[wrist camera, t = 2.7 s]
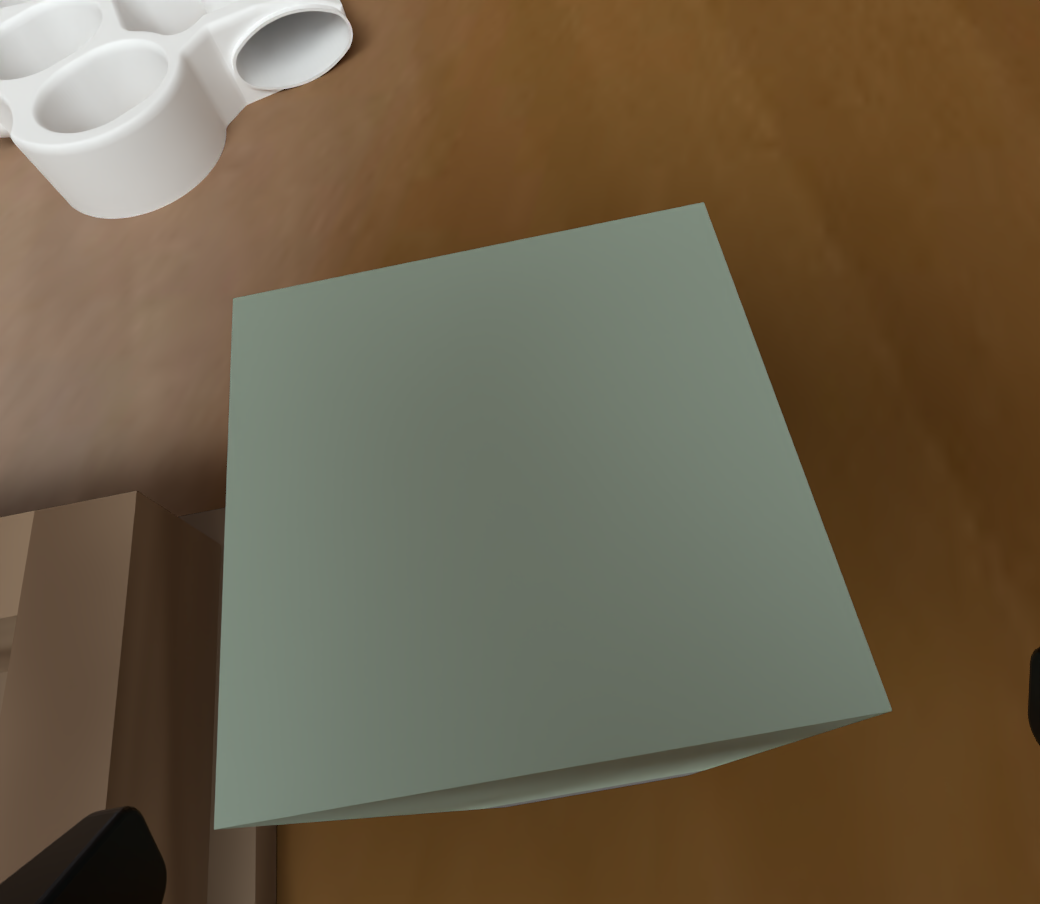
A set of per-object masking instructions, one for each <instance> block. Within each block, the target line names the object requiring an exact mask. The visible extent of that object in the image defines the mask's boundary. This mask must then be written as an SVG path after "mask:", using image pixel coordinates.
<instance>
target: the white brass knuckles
mask: <svg viewBox="0 0 1040 904" xmlns="http://www.w3.org/2000/svg"><path fill="white" fill-rule="evenodd" d="M352 38H353V32H352V27H351V24H350V22H349V21H348V19H347V17H346V15H345V12H344V9H343V6H342V3H341V2H340V0H0V138H8V137H11V139H12V141H13V142H14V143H15V145H16V146H17V147H18V148H19V149H20V150H21V151H22V152H23V153H24V154H25V156H26V157H27V158H28V159H29V160H30V161H31V162H32V163H33V164H34V165H35V167H36V168H37V169H38V170H39V171H40V172H41V173H42V174H43V175H44V176H45V178H46V179H47V180H48V181H49V182H50V183H51V184H52V185H53V186H54V187H55V189H56V190H57V191H58V192H59V193H60V194H61V195H62V196H63V197H64V198H65V200H66V201H67V202H68V203H69V204H70V205H71V206H72V207H73V208H75V209H76V210H78V211H79V212H81V213H84V214H86V215H89V216H93V217H98V218H107V219H117V218H127V217H133V216H138V215H142V214H145V213H148V212H151V211H154V210H157V209H159V208H162V207H164V206H166V205H168V204H170V203H172V202H174V201H176V200H177V199H179V198H180V197H182V196H184V195H185V194H187V193H188V192H189V191H191V190H192V189H193V188H194V187H196V186H197V185H198V184H199V183H200V182H201V181H202V180H203V179H204V178H205V177H206V176H207V175H208V174H209V173H210V171H211V170H212V169H213V167H214V166H215V164H216V163H217V161H218V160H219V158H220V156H221V154H222V151H223V148H224V145H225V141H226V128H227V126H228V125H229V124H230V123H231V121H232V120H233V119H234V118H235V117H236V116H237V115H238V114H239V113H240V112H241V111H242V109H243V108H244V107H245V106H246V105H248V104H250V103H253V102H255V101H257V100H260V99H262V98H264V97H267V96H269V95H271V94H274V93H276V92H278V91H281V90H283V89H288V88H293V87H297V86H300V85H303V84H306V83H308V82H310V81H313V80H315V79H316V78H318V77H320V76H322V75H323V74H325V73H326V72H327V71H329V70H330V69H331V68H332V67H333V66H335V65H336V64H337V63H338V62H339V61H340V59H341V58H342V57H343V56H344V55H345V53H346V52H347V51H348V49H349V48H350V46H351V43H352Z"/></svg>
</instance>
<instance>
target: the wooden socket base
mask: <svg viewBox="0 0 1040 904" xmlns="http://www.w3.org/2000/svg"><path fill="white" fill-rule="evenodd" d="M225 509H226V508H220V509H215V510H210V511H205V512H200V513H195V514H189V515H184V516H179V517H177V516H175V515H174V514H172V513H171V512H169V511H168V510H166V509H164V508H163V507H161V506H160V505H158V504H157V503H155V502H154V501H152V500H151V499H149V498H147V497H146V496H144V495H143V494H141V493H140V492H138V491H132V492H127V493H122V494H117V495H112V496H107V497H102V498H97V499H91V500H86V501H81V502H76V503H71V504H66V505H61V506H56V507H51V508H45V509H40V510H35V511H30V512H25V513H20V514H15V515H10V516H4V517H0V884H1V883H2V882H3V881H4V880H6V879H7V878H8V877H10V876H11V875H12V874H13V873H15V872H16V871H17V870H18V869H20V868H21V867H22V866H24V865H25V864H26V863H27V862H29V861H30V860H31V859H32V858H34V857H35V856H36V855H38V854H39V853H40V852H41V851H43V850H44V849H45V848H46V847H48V846H49V845H50V844H52V843H53V842H54V841H55V840H57V839H58V838H59V837H60V836H62V835H63V834H64V833H66V832H67V831H68V830H69V829H71V828H72V827H73V826H74V825H76V824H77V823H78V822H80V821H81V820H82V819H83V818H85V817H86V816H88V815H89V814H91V813H93V812H97V811H100V810H106V809H111V808H117V807H123V806H132V807H135V808H136V809H138V810H139V811H140V812H141V813H142V815H143V817H144V819H145V821H146V823H147V825H148V827H149V830H150V832H151V834H152V836H153V838H154V840H155V842H156V844H157V846H158V849H159V851H160V853H161V855H162V857H163V859H164V862H165V865H166V870H167V885H166V891H165V895H164V899H163V902H162V904H276V825H268V826H255V827H242V828H229V829H216V830H214V814H215V786H216V758H217V731H218V703H219V675H220V648H221V620H222V592H223V565H224V537H225Z"/></svg>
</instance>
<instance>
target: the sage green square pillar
mask: <svg viewBox="0 0 1040 904" xmlns="http://www.w3.org/2000/svg"><path fill="white" fill-rule="evenodd" d="M890 711H892V709H891V706H890V703H889V700H888V698H887V695H886V692H885V690H884V687H883V684H882V682H881V679H880V676H879V673H878V671H877V668H876V665H875V663H874V660H873V657H872V655H871V652H870V649H869V647H868V644H867V641H866V638H865V636H864V633H863V630H862V628H861V625H860V622H859V620H858V617H857V614H856V611H855V609H854V606H853V603H852V601H851V598H850V595H849V593H848V590H847V587H846V585H845V582H844V579H843V576H842V574H841V571H840V568H839V566H838V563H837V560H836V558H835V555H834V552H833V549H832V547H831V544H830V541H829V539H828V536H827V533H826V531H825V528H824V525H823V522H822V520H821V517H820V514H819V512H818V509H817V506H816V504H815V501H814V498H813V496H812V493H811V490H810V487H809V485H808V482H807V479H806V477H805V474H804V471H803V469H802V466H801V463H800V460H799V458H798V455H797V452H796V450H795V447H794V444H793V442H792V439H791V436H790V434H789V431H788V428H787V425H786V423H785V420H784V417H783V415H782V412H781V409H780V407H779V404H778V401H777V398H776V396H775V393H774V390H773V388H772V385H771V382H770V380H769V377H768V374H767V371H766V369H765V366H764V363H763V361H762V358H761V355H760V353H759V350H758V347H757V345H756V342H755V339H754V336H753V334H752V331H751V328H750V326H749V323H748V320H747V318H746V315H745V312H744V309H743V307H742V304H741V301H740V299H739V296H738V293H737V291H736V288H735V285H734V282H733V280H732V277H731V274H730V272H729V269H728V266H727V264H726V261H725V258H724V256H723V253H722V250H721V247H720V245H719V242H718V239H717V237H716V234H715V231H714V229H713V226H712V223H711V220H710V218H709V215H708V212H707V210H706V207H705V204H704V202H702V203H698V204H693V205H688V206H683V207H678V208H673V209H668V210H663V211H658V212H654V213H649V214H644V215H639V216H634V217H629V218H624V219H619V220H614V221H610V222H605V223H600V224H595V225H590V226H585V227H580V228H575V229H570V230H566V231H561V232H556V233H551V234H546V235H541V236H536V237H531V238H526V239H522V240H517V241H512V242H507V243H502V244H497V245H492V246H487V247H483V248H478V249H473V250H468V251H463V252H458V253H453V254H448V255H443V256H439V257H434V258H429V259H424V260H419V261H414V262H409V263H404V264H399V265H395V266H390V267H385V268H380V269H375V270H370V271H365V272H360V273H355V274H351V275H346V276H341V277H336V278H331V279H326V280H321V281H316V282H311V283H307V284H302V285H297V286H292V287H287V288H282V289H277V290H272V291H268V292H263V293H258V294H253V295H248V296H243V297H238V298H233V315H232V343H231V371H230V398H229V426H228V454H227V481H226V509H225V537H224V565H223V592H222V620H221V648H220V675H219V703H218V731H217V758H216V786H215V814H214V830H216V829H229V828H242V827H255V826H268V825H281V824H294V823H307V822H320V821H333V820H346V819H358V818H371V817H384V816H397V815H410V814H423V813H436V812H449V811H462V810H475V809H488V808H501V807H509V806H515V805H520V804H526V803H532V802H538V801H543V800H549V799H555V798H561V797H566V796H572V795H578V794H584V793H589V792H595V791H601V790H607V789H612V788H618V787H624V786H630V785H635V784H641V783H647V782H653V781H659V780H664V779H670V778H676V777H682V776H687V775H691V774H694V773H697V772H701V771H704V770H707V769H710V768H713V767H716V766H720V765H723V764H726V763H729V762H732V761H735V760H738V759H742V758H745V757H748V756H751V755H754V754H757V753H761V752H764V751H767V750H770V749H773V748H776V747H780V746H783V745H786V744H789V743H792V742H795V741H798V740H802V739H805V738H808V737H811V736H814V735H817V734H821V733H824V732H827V731H830V730H833V729H836V728H840V727H843V726H846V725H849V724H852V723H855V722H859V721H862V720H865V719H868V718H871V717H874V716H877V715H881V714H884V713H887V712H890Z"/></svg>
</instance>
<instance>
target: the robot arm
mask: <svg viewBox="0 0 1040 904" xmlns="http://www.w3.org/2000/svg"><path fill="white" fill-rule="evenodd" d="M1028 719H1029V724H1030V727H1031V730H1032V733H1033V735H1034V737H1035V739H1036V741H1037V742H1038V744H1039V745H1040V647H1039V648H1037V649H1035V651H1034V652H1033V654H1032V656H1031V660H1030V678H1029V700H1028ZM166 885H167V870H166V865H165V862H164V859H163V857H162V855H161V853H160V851H159V849H158V846H157V844H156V842H155V840H154V838H153V836H152V834H151V832H150V830H149V827H148V825H147V823H146V821H145V819H144V817H143V815H142V813H141V812H140V811H139V810H138V809H136V808H135V807H132V806H123V807H117V808H111V809H106V810H100V811H97V812H93V813H91V814H89V815H88V816H86V817H85V818H83V819H82V820H81V821H80V822H78V823H77V824H76V825H74V826H73V827H72V828H71V829H69V830H68V831H67V832H66V833H64V834H63V835H62V836H60V837H59V838H58V839H57V840H55V841H54V842H53V843H52V844H50V845H49V846H48V847H46V848H45V849H44V850H43V851H41V852H40V853H39V854H38V855H36V856H35V857H34V858H32V859H31V860H30V861H29V862H27V863H26V864H25V865H24V866H22V867H21V868H20V869H18V870H17V871H16V872H15V873H13V874H12V875H11V876H10V877H8V878H7V879H6V880H4V881H3V882H2V883H1V884H0V904H162V902H163V899H164V895H165V891H166Z"/></svg>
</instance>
